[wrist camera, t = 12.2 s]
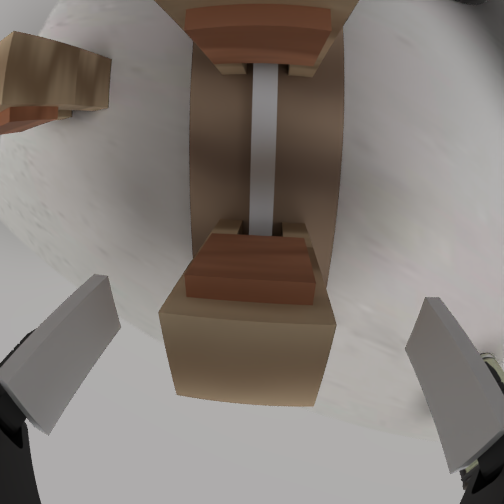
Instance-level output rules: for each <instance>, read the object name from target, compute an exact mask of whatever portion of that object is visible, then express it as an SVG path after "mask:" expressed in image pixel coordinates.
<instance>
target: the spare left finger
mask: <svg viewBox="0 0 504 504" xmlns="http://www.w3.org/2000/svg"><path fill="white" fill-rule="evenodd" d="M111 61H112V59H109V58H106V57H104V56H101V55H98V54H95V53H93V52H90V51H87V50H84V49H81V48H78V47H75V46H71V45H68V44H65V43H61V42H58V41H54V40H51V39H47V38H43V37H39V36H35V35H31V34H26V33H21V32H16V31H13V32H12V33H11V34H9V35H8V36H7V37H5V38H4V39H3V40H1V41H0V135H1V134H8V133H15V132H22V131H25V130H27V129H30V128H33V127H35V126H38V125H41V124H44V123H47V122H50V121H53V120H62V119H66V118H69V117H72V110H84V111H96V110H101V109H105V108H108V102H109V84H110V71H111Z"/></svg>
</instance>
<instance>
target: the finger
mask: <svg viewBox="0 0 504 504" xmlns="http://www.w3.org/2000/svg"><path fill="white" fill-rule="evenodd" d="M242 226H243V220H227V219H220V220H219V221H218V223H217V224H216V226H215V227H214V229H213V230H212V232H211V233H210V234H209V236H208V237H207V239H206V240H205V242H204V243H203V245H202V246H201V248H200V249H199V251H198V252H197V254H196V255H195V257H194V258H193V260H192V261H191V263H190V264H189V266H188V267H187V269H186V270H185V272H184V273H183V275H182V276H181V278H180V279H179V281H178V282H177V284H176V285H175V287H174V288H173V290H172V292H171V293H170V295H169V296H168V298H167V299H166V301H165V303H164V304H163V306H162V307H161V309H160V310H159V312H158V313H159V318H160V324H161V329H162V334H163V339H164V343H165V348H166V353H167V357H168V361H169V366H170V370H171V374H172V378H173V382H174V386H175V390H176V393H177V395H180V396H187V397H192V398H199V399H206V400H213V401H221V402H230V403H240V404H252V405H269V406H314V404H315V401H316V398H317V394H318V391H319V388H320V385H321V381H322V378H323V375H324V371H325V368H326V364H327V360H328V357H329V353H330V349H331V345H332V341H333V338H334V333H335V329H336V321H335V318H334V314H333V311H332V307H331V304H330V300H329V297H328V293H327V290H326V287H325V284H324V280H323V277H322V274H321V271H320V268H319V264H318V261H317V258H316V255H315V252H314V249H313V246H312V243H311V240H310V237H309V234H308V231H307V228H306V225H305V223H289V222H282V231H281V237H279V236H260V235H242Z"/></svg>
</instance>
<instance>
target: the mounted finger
mask: <svg viewBox="0 0 504 504" xmlns="http://www.w3.org/2000/svg"><path fill="white" fill-rule="evenodd" d="M154 1H155V2H156V3H157V4H158V5H159V6H160V7H161V8H162V9H163V10H164V11H165V12H166V13H167V14H168V15H169V16H170V17H171V18H172V19H173V20H174V21H175V22H176V23H177V24H178V25H179V26H180V27H181V28H182V29H183V30H184V31H185V33H186V34H187V35H188V36H189V37H190V38H191V39H192V40H193V41H194V42H195V43H196V45H197V46H198V47H199V48H200V49H201V50H202V51H203V53H204V54H205V55H206V56H207V57H208V58H209V59H210V61H211V62H212V63H213V64H214V65H215V66H216V68H217V69H218V70H219V71H220V72H221V74H222V75H228V74H246V70H247V63H271V64H288V75H291V76H304V77H313V76H314V74H315V72H316V70H317V69H318V67H319V65H320V64H321V62H322V60H323V59H324V57H325V55H326V53H327V52H328V50H329V48H330V47H331V45H332V43H333V42H334V40H335V38H336V37H337V35H338V34H339V32H340V30H341V29H342V27H343V25H344V24H345V22H346V21H347V19H348V17H349V16H350V14H351V13H352V11H353V9H354V8H355V6H356V5H357V3H358V1H359V0H154Z"/></svg>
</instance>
